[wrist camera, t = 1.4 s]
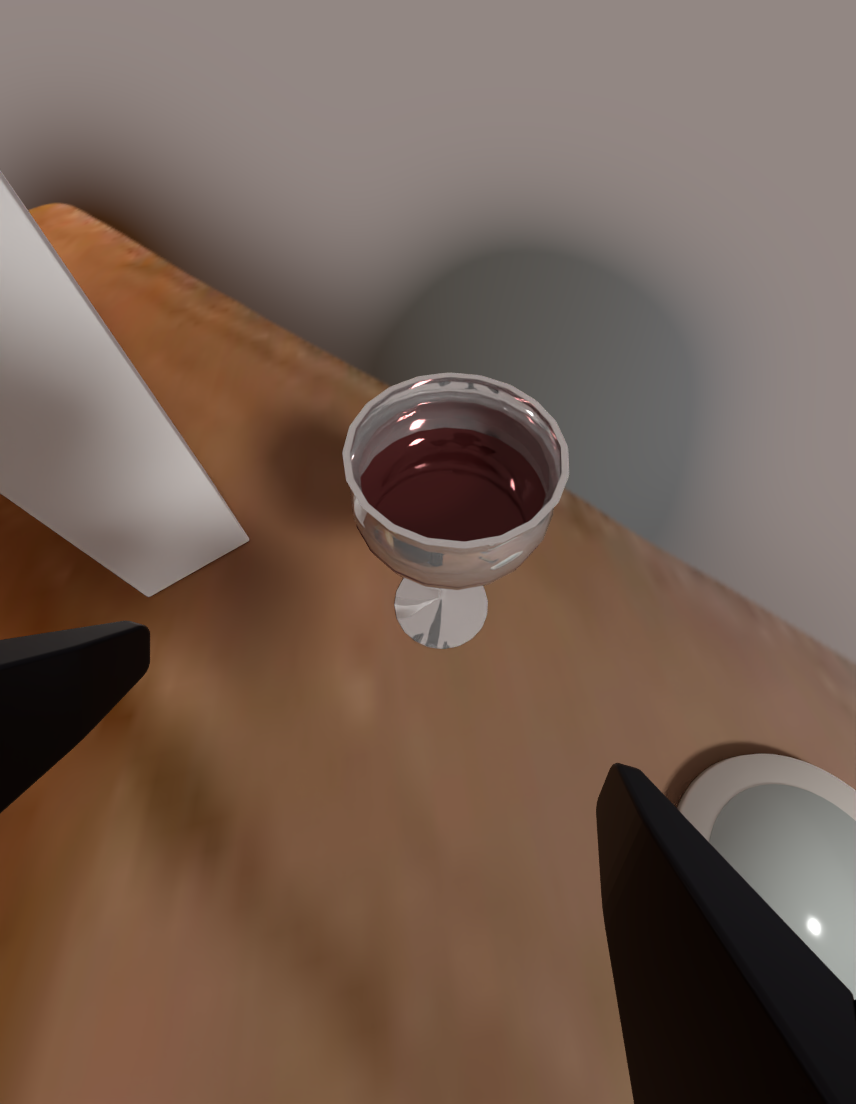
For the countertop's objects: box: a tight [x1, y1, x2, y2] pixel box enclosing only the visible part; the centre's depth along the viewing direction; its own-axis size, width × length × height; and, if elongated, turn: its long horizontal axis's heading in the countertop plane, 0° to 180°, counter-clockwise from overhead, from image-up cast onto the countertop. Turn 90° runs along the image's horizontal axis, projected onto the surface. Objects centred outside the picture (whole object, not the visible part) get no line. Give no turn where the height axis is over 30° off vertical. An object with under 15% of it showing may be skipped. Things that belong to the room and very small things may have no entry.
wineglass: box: [342, 373, 569, 649], centre depth 18 cm, size 7×7×12 cm
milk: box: [0, 170, 249, 597], centre depth 16 cm, size 6×6×22 cm
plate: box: [677, 754, 856, 1000], centre depth 17 cm, size 10×10×1 cm
